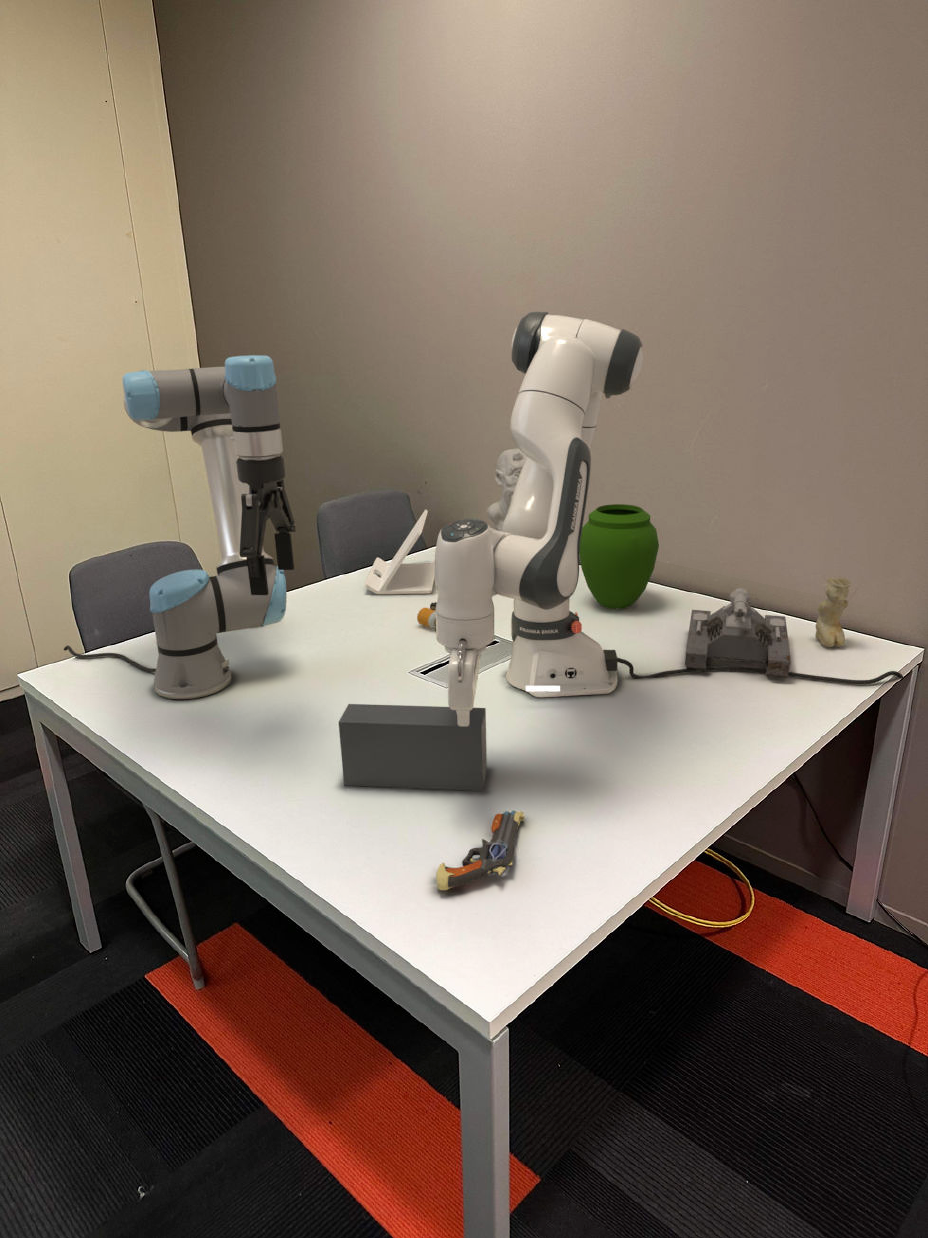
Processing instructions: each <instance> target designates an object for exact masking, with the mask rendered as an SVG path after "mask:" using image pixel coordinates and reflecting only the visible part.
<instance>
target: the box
mask: <svg viewBox="0 0 928 1238" xmlns="http://www.w3.org/2000/svg"><path fill="white" fill-rule="evenodd" d="M486 710H487V709H486V707H473V709H472V710H470V723H469V726H459V725H458V721H457V713H456V710H451V709H450V708H449V706H435V705H434V706H432V705H431V706H430V705H402V704H401V705H398V704H396V705H395V704H365V703H362V704H361V703H348V704H347V706H346V708H345V710H344V711H343V713H342V715H341V717H340V719H339V720H338V731H339V732H338V733H339V743H340V744H339V745H340V755H341V764H342V765H341V767H342V777H343V778H342V779H343V786H347V787H348V786H349V787H372V788H373V787H374V788H398V789H420V790H421V789H422V790H441V791H443V790H445V791H464V792H465V791H466V792H467V791H468V792H483V791H484V789H485V788H484V787H485V782H486V776H487V771H488V760H487V758H488V757H487V756H488V755H487V711H486Z"/></svg>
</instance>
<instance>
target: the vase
mask: <svg viewBox="0 0 928 1238" xmlns="http://www.w3.org/2000/svg"><path fill="white" fill-rule="evenodd" d="M587 516H588V517H587V518H588V521H587V522H586V523H585V524H583V527H582V534H581V541H580V549H579V562H580V569H581V571H582V574H583V577H584V580H585V583H586V585H587V588H588V590H589V591H590V594H592V597H593V598H594V600H595V601H596V602H597V603H598V604H599V605H600V606H602V607H604V608H606V609H609V610H625V609H628V608H630V607H632V606H634V604H636V602H638V601H639V599H640V597H641V596H642V595H643V593H644V592H645V590H646V588H647V586H648V584H649V581H650V579H651V577H652V574H653V572H654V570H655V566H656V562H657V557H658V552H659V548H660V544H659V543H660V542H659V537H658V531H657V528H656V527H655V526H654V524H653V523H652V522H651V515H650V514H649V512H647V511H645V510H644V509H643V508H642V507H641V506H638V505H633V504H622V503H621V504H619V503H616V504H615V503H614V504H604V505H601V506H598V507H597V508H595V509H594V510H592V511H591V512H590V513H589V514H588V515H587Z"/></svg>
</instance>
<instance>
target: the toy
mask: <svg viewBox="0 0 928 1238" xmlns="http://www.w3.org/2000/svg"><path fill="white" fill-rule="evenodd" d="M729 601H730V603H729V604H726V605H723V606H722V607H721V608H719V609H718V610H716V611H715V612H713V613H712V611H711V610H701V609H691V615H690V620H689V627H688V634H687V640H686V649H685V659H684V666H685V668H692V669H695V670H698V671H697V672H706V671H705V669H706V667H707V658H711V659H714V660H727V661H738V662H747V663H749V662H750V663H763V662H764V663H765V669H766V673H765V676H766V677H774V678H775V677H777V678H778V677H779V678H787V677H789V676H788V673H789V672H790V668H791V663H792V661H791V660H792V657H791V648H790V641H789V635H788V628H787V619H786V616H785V615H784V616H783V615H771V614H770V615H769V614H765V615H764V616H763V615H761V613H759V612H758V611H757V610H756V609H755V608H754V607H752V606H751V605H749V603H750V601H751V593H750V592H749V591H748V590H747V589H746V588H743V587H740V588H739V587H737V588H735V589H734V590H733V591H732V592H731V593H730V595H729Z"/></svg>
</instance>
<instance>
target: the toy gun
mask: <svg viewBox="0 0 928 1238" xmlns="http://www.w3.org/2000/svg"><path fill="white" fill-rule="evenodd" d="M521 821H525V814H524V812H523V811H522V810H521V811H516V810H511V811H508V810H506V811H504V812H503V813H496V814H495V815H494V818H493V819H492V823H491V826H490V830H491V833H492V838H491V839H490V841H487V840H486V839H484V838H482V839H481V843H482V846H481V847H472V848H471V849H469V850H468V853H467V854H466V857H465V858H463V860H462V861H461V864H462V866H460V867H451V866H446V864H445V862H442V863H440V864H439V866H438V868H437V871H436V876H435V878H436V884H437V889H438V890H439V891H448V890H450V889H452V888H456V887H460V886H464V885H466V884H468V883H471V882H472V883H473V882H474V881H477V880H482V879H484V878H487V877H489V876H491V875H493V874H495V873H498V876H501V875H502V874H503V873H504V871H506V868H507V867H509V866H513V862H514V858H515V853H516V848H515V847H516V846H515V841H516V836H517V833H518V829H519V827H520V824H521ZM474 856H479V857H478V859H474V858H473V857H474Z"/></svg>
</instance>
